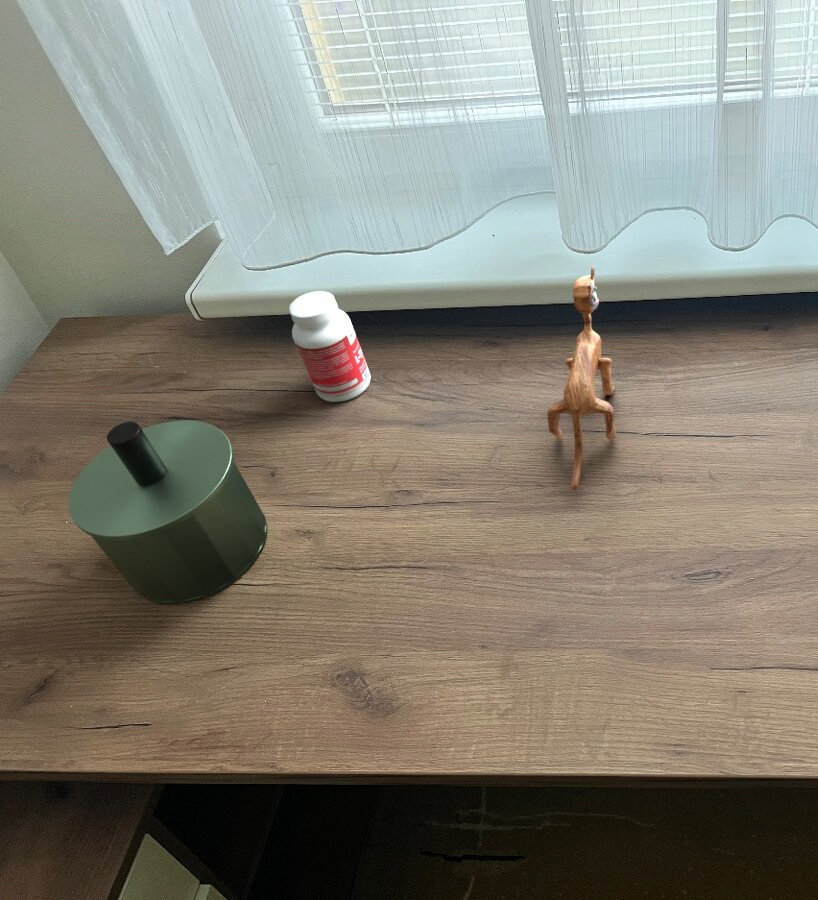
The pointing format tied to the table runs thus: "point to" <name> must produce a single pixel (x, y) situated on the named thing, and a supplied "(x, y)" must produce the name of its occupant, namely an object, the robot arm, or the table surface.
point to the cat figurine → (584, 377)
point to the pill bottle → (328, 347)
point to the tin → (195, 549)
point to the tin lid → (150, 479)
